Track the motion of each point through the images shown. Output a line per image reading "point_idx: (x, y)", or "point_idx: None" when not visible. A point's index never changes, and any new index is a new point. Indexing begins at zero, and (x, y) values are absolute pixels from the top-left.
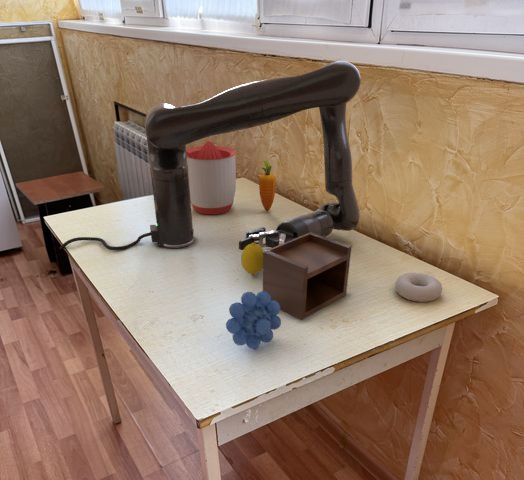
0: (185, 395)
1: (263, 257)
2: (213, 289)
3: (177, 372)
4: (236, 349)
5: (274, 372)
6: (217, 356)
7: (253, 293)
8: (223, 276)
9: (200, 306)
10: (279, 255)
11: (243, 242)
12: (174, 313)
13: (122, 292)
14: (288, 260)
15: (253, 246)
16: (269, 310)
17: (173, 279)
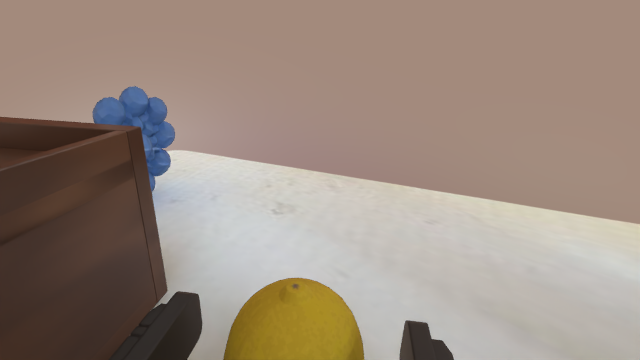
0: (200, 154)
1: (141, 147)
2: (339, 275)
3: (228, 162)
4: (172, 190)
5: None
6: (194, 179)
7: (124, 91)
8: (387, 344)
9: (305, 226)
10: (67, 125)
11: (408, 343)
12: (327, 203)
13: (461, 206)
14: (29, 120)
15: (282, 284)
16: None
17: (465, 264)
